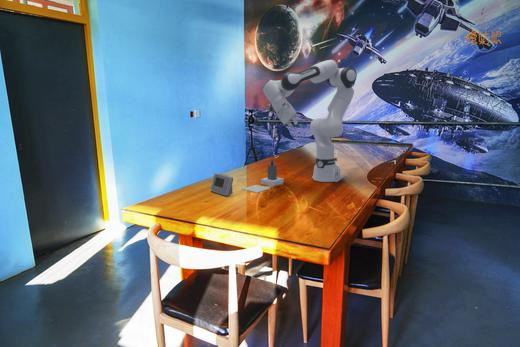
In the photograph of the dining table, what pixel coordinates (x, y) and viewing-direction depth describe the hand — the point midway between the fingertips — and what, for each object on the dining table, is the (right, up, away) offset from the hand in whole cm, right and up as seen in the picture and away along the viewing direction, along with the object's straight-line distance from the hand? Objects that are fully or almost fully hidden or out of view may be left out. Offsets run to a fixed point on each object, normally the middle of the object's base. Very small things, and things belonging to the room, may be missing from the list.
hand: (294, 126), depth 205 cm
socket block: (-12, -34, +15) cm, 39 cm away
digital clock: (-42, -39, -5) cm, 57 cm away
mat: (-22, -37, +3) cm, 43 cm away
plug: (-12, -34, +15) cm, 39 cm away
